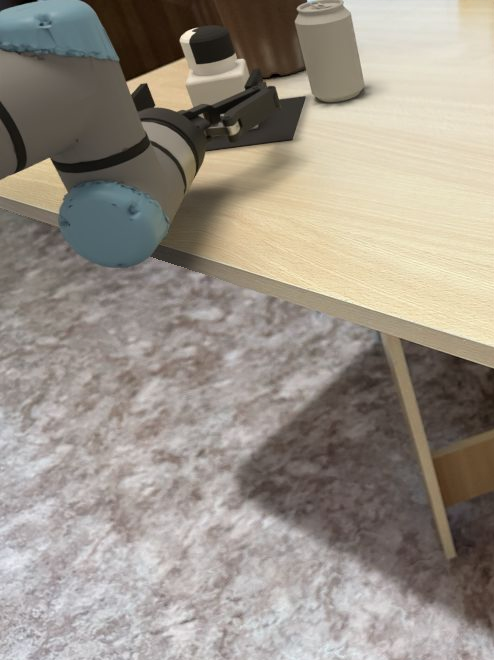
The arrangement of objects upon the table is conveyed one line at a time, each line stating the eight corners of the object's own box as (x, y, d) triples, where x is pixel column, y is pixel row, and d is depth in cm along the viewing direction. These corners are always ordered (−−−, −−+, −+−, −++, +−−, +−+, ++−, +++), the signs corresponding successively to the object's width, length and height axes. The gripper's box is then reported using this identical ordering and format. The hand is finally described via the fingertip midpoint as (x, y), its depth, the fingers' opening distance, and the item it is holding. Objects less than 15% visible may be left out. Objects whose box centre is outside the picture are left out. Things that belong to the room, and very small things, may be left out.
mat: (149, 158, 86) (149, 157, 86) (181, 113, 99) (180, 112, 99) (292, 139, 86) (291, 138, 86) (305, 97, 99) (305, 96, 99)
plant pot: (349, 53, 114) (326, -59, 104) (287, 86, 103) (255, -34, 93) (273, 49, 121) (245, -56, 111) (208, 80, 110) (171, -33, 100)
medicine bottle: (260, 111, 96) (233, 18, 88) (259, 129, 90) (229, 31, 82) (208, 120, 95) (176, 27, 87) (203, 138, 89) (169, 41, 82)
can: (335, 107, 94) (314, 12, 86) (302, 99, 98) (279, 7, 91) (376, 90, 98) (359, -3, 90) (343, 82, 102) (324, -7, 95)
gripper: (48, 209, 69) (114, 131, 86) (294, 177, 69) (313, 104, 86) (9, 137, 64) (87, 68, 81) (273, 102, 64) (298, 41, 81)
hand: (204, 87), depth 83 cm, fingers open, 13 cm apart
